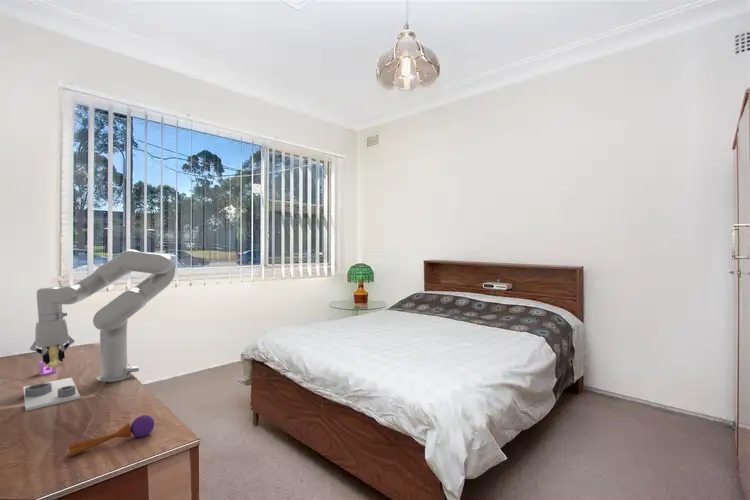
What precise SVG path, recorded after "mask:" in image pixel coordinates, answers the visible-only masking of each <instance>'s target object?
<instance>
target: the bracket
mask: <svg viewBox="0 0 750 500" xmlns="http://www.w3.org/2000/svg"><path fill="white" fill-rule="evenodd" d="M38 372H39V373H38V374H39V376H43V375H49V374H56V373H57V367H53V368H48V365H47V366H45V362H44V363H43V359H42V360H39V361H38Z"/></svg>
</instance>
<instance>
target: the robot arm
mask: <svg viewBox="0 0 750 500" xmlns="http://www.w3.org/2000/svg"><path fill="white" fill-rule="evenodd" d="M132 272H137V273H146V274H150V275H149V276H147V277H145V278H144V280H142V281H141V282H140V283H138V284H137V285H135V286H134V287H132V288H130V289H128V290H125V291H124V292H122V293H121V294H119V295H118V296H117V297H115V298H114V299H113V300H111V301H110V302H108V303H107V304H106V305H104V306H103V307H102V308H100V309H99V310H97V311H96V313H95V314H94V315H93V318H92V323H93V326H94V327H95V328H96V329H97V330H99V358H100V359H99V360H100V361H99V362H100V363H99V364H100V375H98V376H97V377H96V381H98V382H104V383H106V384H107V383H116V382H120V381H123V380H126V379H128V378H130V377H131V376H132V375H133V373H137V372H139V371H140V367H139V366H138V365H137V366H135V365H134V366H131V365H130V363H128V335H127V334H128V319H130V318H131V317H132V316H134V315H135V314H136V313H138V312H139V311H140V310H142V309H143V308H144V307H145V306H146V305H147V304H148V303H149V302H150V301H151V300H153V299H155V297H156V296H158V295H159V294H160V293H161V292H163V291H164V290H165V289H166V288H167V287H168V286H169V285H170V284H171V283H172V281H173V280H174V277H175V274H176V264H175V260H174V259H173V258H172V257H171V256H170V255H169V254H166V253H161V254H160V253H159V254H158V253H153V252H152V253H151V252H142V251H139V250H136V249H127V250H124V251H121V252H120V253H118V255H117V256H116V257H114V258H112V259H111V260H109V261H107V262H106V263H103V264H102V265H100V266H98V267H97V268H96V269H95V271H94V272H92V273H91V274H90V275H88V276H86V277H85V278H83V279H81V280H80V281H78V282H76V283H74V284H71V285H67V286H63V287H57V286H56V287H55V286H52V287H51V286H49V287H42V288H39V289H37V291H36V303H37V304H36V305H37V317H38V319H37V320H38V322H36V324H35V330H34V331H35V332H34V333H35V334H34V336H35V338H34V339H35V340H34V341H33V343H32V344H31V346H30V348H29V350H30V351H34V352H36V353H39V354H40V355H41V356H42V360H43V363H44V364H45V365H48V355H47V347H49V346H52V345H59V348H60V361H61V362H63V361H64V359H65V358H66V357H65V356H66V355H65V351H66V350H67V348H69V347H70V346H71V345H72V344H74V343H75V342H76V341H75V340H74V339H73V338H72V337H71V336H70V334H69V330H68V325H67V321H66V319H65V318H64V317H67V316H68V313H67V312H63V305H73V304H76V303H79V302H82V301H84V300H85V299H87V298H89V297H92V295H94V294H96V293H97V292H99V291H100V290H102V289H104V288H105V287H108V286H110V285H112V284H113V283H115V282H117V281H118V280H120V279H122V278H124V277H125V276H127V275H129V274H131V273H132ZM130 373H131V374H132V375H131V374H130Z"/></svg>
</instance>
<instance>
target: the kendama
mask: <svg viewBox="0 0 750 500" xmlns="http://www.w3.org/2000/svg"><path fill="white" fill-rule="evenodd" d="M154 427H155V420H154V418H153V417H152V416H151V415H147V414H146V415H145V414H143V415H139V416H137V417H136V418H135V419H134V420H133V421H132V422H131V424H130V423H129V422H127V424H125V425H124V426H122V427H121V428H120V429H119V430H118V431H116V432H115V433H111V434H107V435H103V436H99V437H93V438H90V439H85V440H82V441H77V442H73V443H69V444H68V450H69V451H68V452H69V457H70V458H72V457H74V456H77V455H78V454H81V453H83V452H86V451H88V450H91V449H92V448H94V447H97V446H100V445H101V444H104V443H105V442H108V441H110V440H113V439H115V438H123V439H124V438H132V435H133V436H134V437H137V438H142V437H143V438H144V437H146V436H148V435H149V434H150V433H152V431H153V429H154Z"/></svg>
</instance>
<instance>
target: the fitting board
mask: <svg viewBox="0 0 750 500" xmlns="http://www.w3.org/2000/svg"><path fill="white" fill-rule="evenodd" d="M23 398H24V409H25V410H24V412H28V411H33V410H37V409H41V408H44V407H45V408H46V407H51V406H54V405H57V404H58V405H59V404H62V403H66V402H71V401H75V400H79V399H81V395H80V393H79V390H78V388H77V387H76V384H75V382H74V380H73V377H67V378H62V379H57V380H52V381H46V382H42V383H37V384H33V385H32V384H31V385H27V386H23Z"/></svg>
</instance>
